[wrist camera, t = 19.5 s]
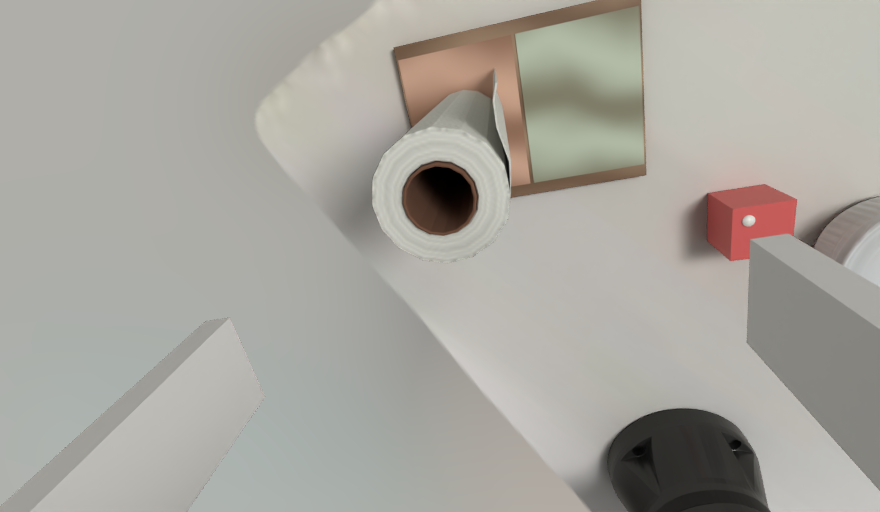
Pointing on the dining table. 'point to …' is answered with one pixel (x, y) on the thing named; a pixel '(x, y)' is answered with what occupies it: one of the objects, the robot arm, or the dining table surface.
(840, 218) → the ramekin
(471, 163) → the paper towel roll
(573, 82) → the game board
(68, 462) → the robot arm
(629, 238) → the dining table surface
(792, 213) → the red die
